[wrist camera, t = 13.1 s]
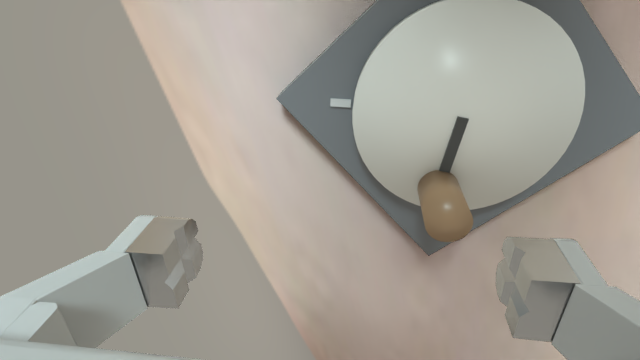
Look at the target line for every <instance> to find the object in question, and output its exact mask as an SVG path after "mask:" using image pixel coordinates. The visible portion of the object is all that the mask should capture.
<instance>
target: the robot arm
mask: <svg viewBox="0 0 640 360" xmlns="http://www.w3.org/2000/svg"><path fill="white" fill-rule="evenodd" d="M197 232H198V228H197V225H196V221H194V220H193V219H189V218H175V217H162V216H158V217H157V216H148V215H147V216H146V215H141V216H138V217H136V218H135V219H134V220H133V222H132V223H131V224H130V225H129V226H128V227H127V228H126V229H125V230H124V231H123V232H122V233H121V234H120V235H119V237H117V238H116V240H115V241H114V242H113V243H112V244H111V245H110V246H109V247H108V248H107V249H106V250H105V251H98V252H96V253H93V254H91V255H89V256H87V257H85V258H83V259H80V260H78V261H76V262H74V263H72V264H70V265H68V266H65V267H64V268H61V269H59V270H57V271H55V272H52V273H50V274H48V275H46V276H44V277H42V278H40V279H37V280H35V281H33V282H31V283H29V284H27V285H24V286H22V287H20V288H18V289H16V290H13V291H11V292H9V293H7V294H5V295H3V296H1V297H0V360H203V359H194V358H184V357H174V356H165V355H156V354H146V353H136V352H127V351H116V350H107V349H98V348H96V347H98V346H99V345H100V344H101V343H103V342H104V341H105V340H106V339H108V338H109V337H111V336H112V335H113V334H114V333H116V332H117V331H119V330H120V329H121V328H123V327H124V326H125V325H127V324H128V323H129V322H130V321H132V320H133V319H134V318H136V317H137V316H138V315H140V314H141V313H142V312H144V311H145V310H146V309H148V307H161V308H179V306H180V305H181V303H182V301H183V300H184V298H185V296H186V294H187V293H188V291H189V287H188V282H190V281H192V280H193V279H195V278H196V277H197V275H198V273H199V271H200V269H201V265H202V261H203V251H202V246H201V244H200V243H199V242H198V241H197V240H196V239H195V236H196V234H197ZM502 252H503V254H504V257H505V258H504V259H503V260H502V261H501V262H499V263H498V266H497V271H496V289H497V294H498V297H499V300H500V301H501V302H502V303H503V304H504V305H505V306H507V309H506V313H505V317H506V320H507V323H508V325H509V328H510V331H511V334H512V337H513V338H519V339H528V340H537V341H546V342H552V345H553V346H554V347H555V348H556V349H557V350H558V351H559V352H560V353H561V354H562V355H563V356H564V357H565V358H566V359H567V360H640V301H639V300H637V299H635V298H634V297H632V296H630V295H629V294H627V293H625V292H624V291H622V290H620V289H619V288H617V287H611V286H608V285H607V283H606V282H605V280H604V279H603V278H602V276H601V275H600V273H599V272H598V271H597V269H596V268H595V266H594V265H593V263H592V262H591V261H590V259H589V258H588V256H587V255H586V254H585V252H584V251H583V249H582V248H581V247H580V245H579V244H578V242H577V241H575V240H573V239H557V238H550V239H541V238H521V237H506V239H505V241H504V243H503V247H502Z"/></svg>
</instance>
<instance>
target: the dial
mask: <svg viewBox="0 0 640 360" xmlns="http://www.w3.org/2000/svg"><path fill="white" fill-rule="evenodd" d="M584 100H585V78H584V72H583V66H582V63H581V60H580V57H579V54H578V52H577V50H576V48H575V46H574V44H573V42H572V40H571V39H570V37H569V36H568V35H567V34H566V32H565V31H564V30H563V28H562V27H561V26H560V25H559V24H558V23H556V22H555V21H554V20H553V19H552V18H551V17H550V16H548V15H547V14H545V13H544V12H542V11H540V10H539V9H537V8H536V7H533V6H531V5H529V4H526V3H524V2H522V1H518V0H440V1H437V2H434V3H432V4H429V5H427V6H425V7H423V8H421V9H419V10H417V11H415V12H414V13H412V14H410V15H409V16H407V17H406V18H404V19H403V20H402V21H400V22H399V23H398V24H397V25H395V26H394V27H393V28H392V29H391V30H390V31H389V32H388V33H387V34H386V35H385V36H384V37H383V38H382V39H381V40H380V42H379V43H378V44H377V45H376V47H375V48H374V49H373V51H372V52H371V54H370V56H369V57H368V59H367V61H366V63H365V64H364V67H363V69H362V71H361V74H360V76H359V79H358V82H357V86H356V90H355V95H354V103H353V110H352V124H353V131H354V138H355V141H356V145H357V148H358V151H359V153H360V155H361V158H362V160H363V162H364V163H365V165H366V166H367V168H368V170H369V171H370V172H371V173H372V175H373V176H374V177H375V178H376V180H377V181H379V182H380V183H381V184H382V185H383V186H384V187H385V188H386V189H388V190H389V191H390V192H392V193H393V194H395V195H396V196H398V197H400V198H402V199H404V200H405V201H408V202H410V203H413V204H415V205H418V206H421V210H422V215H423V219H424V224H425V229H426V231H427V233H428V234H429V235H430V236H431V237H432V238H434V239H435V240H438V241H441V242H454V241H457V240H460V239H462V238H463V237H465V236H466V235H467V234H468V233H469V232H470V230H471V229H472V226H473V217H472V214H471V212H470V210H473V209H478V208H483V207H487V206H490V205H494V204H497V203H500V202H502V201H504V200H507V199H509V198H511V197H513V196H515V195H517V194H519V193H521V192H523V191H524V190H526V189H527V188H529V187H530V186H532V185H533V184H535V183H536V182H537V181H538V180H539V179H541V178H542V177H543V176H544V175H545V174H547V172H548V171H549V170H550V169H551V168H552V167H553V166H554V165H555V164H556V163H557V162H558V160H559V159H560V158H561V157H562V155H563V154H564V153H565V151H566V150H567V148H568V146H569V144H570V143H571V141H572V139H573V137H574V135H575V133H576V131H577V128H578V126H579V123H580V120H581V116H582V113H583V108H584Z"/></svg>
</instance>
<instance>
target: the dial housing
mask: <svg viewBox="0 0 640 360" xmlns="http://www.w3.org/2000/svg"><path fill="white" fill-rule="evenodd" d="M437 1H440V0H376V1H375V2H374V3H373V4H372V5H371V6H370V7H369V8H368V9H367V10H366V11H365V12H364V13H363V14H362V15H361V16H360V17H359V18H358V19H357V20H356V21H355V22H354V23H352V24H351V25H350V26H349V27H348V28H347V29H346V30H345V31H344V32H343V33H342V34H341V35H340V36H339V37H338V38H337V39H336V40H335V41H334V42H333V43H332V44H331V45H330V46H329V47H328V48H327V49H326V50H324V51H323V52H322V53H321V54H320V55H319V56H318V57H317V58H316V59H315V60H314V61H313V62H312V63H311V64H310V65H309V66H308V67H307V68H306V69H305V70H304V71H303V72H302V73H301V74H300V75H299V76H297V77H296V78H295V79H294V80H293V81H292V82H291V83H290V84H289V85H288V86H287V87H286V88H285V89H284V90H283V91H282V92H281V93H280V95H279V96H278V97H277V98H276V99H277V100H278V101H279V102H280V103H281V104H282V105H283V106H284V107H285V108H286V109H287V110H288V111H289V112H290V113H291V114H292V115H293V116H294V117H295V118H296V119H297V120H298V121H299V122H300V123H301V124H302V125H303V127H304V128H305V129H306V130H307V131H308V132H309V133H310V134H311V135H312V136H313V137H314V138H315V139H316V140H317V141H318V142H319V143H320V144H321V145H322V146H323V147H324V148H325V149H326V150H327V151H328V152H329V153H330V154H331V155H332V156H333V157H334V159H335V160H336V161H337V162H338V163H339V164H340V165H341V166H342V167H343V168H344V169H345V170H346V171H347V172H348V173H349V174H350V175H351V176H352V177H353V178H354V179H355V180H356V181H357V182H358V183H359V184H360V185H361V186H362V187H363V188H364V189H365V191H366V192H367V193H368V194H369V195H370V196H371V197H372V198H373V199H374V200H375V201H376V202H377V203H378V204H379V205H380V206H381V207H382V208H383V209H384V210H385V211H386V212H387V213H388V214H389V215H390V216H391V217H392V218H393V219H394V220H395V221H396V223H397V224H398V225H399V226H400V227H401V228H402V229H403V230H404V231H405V232H406V233H407V234H408V235H409V236H410V237H411V238H412V239H413V240H414V241H415V242H416V243H417V244H418V245H419V246H420V247H421V248H422V249H423V250H424V251H425V252H426V253H427V255H428V256H429V255H431V254H433V253H434V252H436V251H438V250H440V249H441V248H443V247H445V246H446V245H448V244H450V243H451V242H441V241H438V240H435V239H434V238H432V237H431V236H430V235H429V234H428V233H427V231H426V229H425V224H424V219H423V215H422V210H421V206H418V205H415V204H413V203H410V202H408V201H405V200H404V199H402V198H400V197H398V196H396V195H395V194H393V193H392V192H390V191H389V190H388V189H386V188H385V187H384V186H383V185H382V184H381V183H380V182H379V181H377V180H376V178H375V177H374V176H373V175H372V173H371V172H370V171H369V170H368V168H367V166H366V165H365V163H364V162H363V160H362V158H361V155H360V153H359V151H358V148H357V145H356V141H355V138H354V131H353V124H352V110H353V103H354V95H355V90H356V86H357V82H358V79H359V76H360V74H361V71H362V69H363V67H364V64H365V63H366V61H367V59H368V57H369V56H370V54H371V52H372V51H373V49H374V48H375V47H376V45H377V44H378V43H379V42H380V40H381V39H382V38H383V37H384V36H385V35H386V34H387V33H388V32H389V31H390V30H391V29H392V28H393V27H394V26H395V25H397V24H398V23H399V22H400V21H402V20H403V19H404V18H406V17H407V16H409V15H410V14H412V13H414V12H415V11H417V10H419V9H421V8H423V7H425V6H427V5H429V4H432V3H434V2H437ZM518 1H522V2H524V3H526V4H529V5H531V6H533V7H536V8H537V9H539V10H540V11H542V12H544V13H545V14H547V15H548V16H550V17H551V18H552V19H553V20H554V21H555V22H556V23H558V24H559V25H560V26H561V27H562V28H563V30H564V31H565V32H566V34H567V35H568V36H569V37H570V39H571V40H572V42H573V44H574V46H575V48H576V50H577V52H578V54H579V57H580V60H581V63H582V66H583V72H584V78H585V100H584V108H583V113H582V116H581V120H580V123H579V126H578V128H577V131H576V133H575V135H574V137H573V139H572V141H571V143H570V144H569V146H568V148H567V150H566V151H565V153H564V154H563V155H562V157H561V158H560V159H559V160H558V162H557V163H556V164H555V165H554V166H553V167H552V168H551V169H550V170H549V171H548V172H547V174H545V175H544V176H543V177H542V178H541V179H539V180H538V181H537V182H536V183H535V184H533V185H532V186H530V187H529V188H527V189H526V190H524V191H523V192H521V193H519V194H517V195H515V196H513V197H511V198H509V199H507V200H504V201H502V202H500V203H497V204H494V205H490V206H487V207H483V208H478V209H473V210H470V212H471V214H472V217H473V226H472V229H471V230H470V231H472V230H473V229H475V228H477V227H478V226H480V225H482V224H484V223H485V222H487V221H489V220H490V219H492V218H494V217H495V216H497V215H499V214H500V213H502V212H504V211H506V210H507V209H509V208H511V207H512V206H514V205H516V204H517V203H519V202H521V201H523V200H524V199H526V198H528V197H529V196H531V195H533V194H534V193H536V192H538V191H539V190H541V189H543V188H545V187H546V186H548V185H550V184H551V183H553V182H555V181H556V180H558V179H560V178H561V177H563V176H565V175H567V174H568V173H570V172H572V171H573V170H575V169H577V168H578V167H580V166H582V165H583V164H585V163H587V162H589V161H590V160H592V159H594V158H595V157H597V156H599V155H600V154H602V153H604V152H606V151H607V150H609V149H611V148H612V147H614V146H616V145H617V144H619V143H621V142H622V141H624V140H626V139H628V138H629V137H631V136H633V135H634V134H636V133H638V132H639V131H640V96H639V94H638V92H637V91H636V89H635V88H634V86H633V84H632V83H631V81H630V80H629V78H628V77H627V75H626V73H625V72H624V70H623V69H622V67H621V65H620V64H619V62H618V61H617V59H616V57H615V56H614V54H613V53H612V51H611V49H610V48H609V46H608V45H607V43H606V41H605V40H604V38H603V37H602V35H601V33H600V32H599V30H598V29H597V27H596V25H595V24H594V22H593V21H592V19H591V18H590V16H589V14H588V13H587V11H586V10H585V8H584V6H583V5H582V3H581V2H580V0H518Z"/></svg>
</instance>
